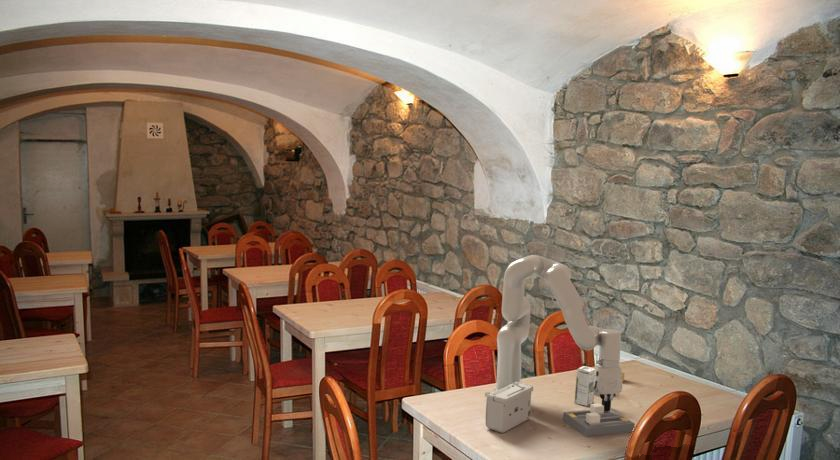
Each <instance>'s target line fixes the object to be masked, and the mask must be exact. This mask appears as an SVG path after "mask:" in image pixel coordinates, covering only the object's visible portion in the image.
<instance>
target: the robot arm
mask: <svg viewBox="0 0 840 460" xmlns="http://www.w3.org/2000/svg"><path fill="white" fill-rule="evenodd" d="M503 275H504V277H503V285H502V286H503V288H502V296H501V297H502V299H501V316H502V317H503V319H504V320H505V321H507V323H506V324H505V325H504V326H502V327H501V328H500V329H499V330H498V332H497V335H496V344H497V367H496V368H497V369H496V370H497V371H496V387H495V388H494V389H493V390H492V391H487V392H486V391H485V392H484V397H485V398H487V395H488V394H490V393H493V392H495V391H497V390H500V389H502V388H504V387H506V386H508V385H511V384H513V383H515V382H520V383H521V378H522V377H521V376H522V374H521V373H522V343H524V342H525V341H526V340H527V338H528V337H529V334H530V326H531V325H530V323H531V313H532V312H531V302H530V300H529V299H528V298H527V297H526V296H525V290H526V287H525V285H526V284H525V282H526V280H527V279H528V280H529V279H532V278H534V277H537V278H539V279H543V280H545V282H546V284H547V287H548V288H549V290H550V292H551V293H552V295H553V297H554V298H555V300H556V302H557V304H558V305H559V307H560V310H561V313H562V316H563V318H564V319H563V320H564V321H565V325H566V327H567V329H568V331H569V333H570V335H571V337H572V338H573V341H575V344H576V345H577V346H578V347H579V348H580V349H582V350H584V351H591V350H593V349H595V348H596V347H597V346H599V351H598V352H599V353H598V354H599V355H598V360H596V367H595V369H596V372H595V377H594V397H599V398H600V399H601V405H603V406H604V410H605V411H610V409H611V407H612V401H613V400H614V398H615V396H617V395H620V393H622V392H623V381H622V372H623V371H622V367H621V366H620V360H621V359H620V358H621V345H622V343H621V342H622V334H621V332H620V331H618V330H616V329H611V328H610V329H609V328H608V329H605V328H603V327H599V326H594V325H588V323H587V320H586V318H585V316H584V312H583V301H582V297H581V295H580V294H579V292H578V291H577V289H576V287H575V286H574V284H573V282H572V281H571V279H572V271H571V270H570V268H569V266H568V265H566V264H563V263H561V262H559V261H556V260H552V259H550V258H546V257H544V256H541V255H537V254H530V255H527V256H524V257H521V258H519V259H516V260H514V261H513V262H511V263H510V264H509V265H508V266H507V267H506V270H505V271H504V274H503ZM505 378H506V379H507V380H509V381H511V382H513V383H511V382H509V381H507V380H505Z"/></svg>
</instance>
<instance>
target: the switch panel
mask: <svg viewBox="0 0 840 460" xmlns="http://www.w3.org/2000/svg"><path fill="white" fill-rule="evenodd" d="M586 413H591V412H590V409H584V410H583V409H582V410H572V411H571V410H570V411H563V413H562V421H564V422H566V423H567V424H568V425H569V426H571V427H572V428H573V429H575V430H576V431H578V432H579V433H581V434H582V435H583V436H585V437H587V438H588V437H597V436H606V435H613V434H614V435H615V434H623V433H633V432H632V430H633V428H634V429H635V422H633V421H631V420H630V419H628V418H627V417H625V416H623V415H621V414H620V413H618V412H617V411H615V410H614V409H611V408H610V411H605V410H604V413H600V414H599V415H600V423H594V424H589V423H587V422H586Z"/></svg>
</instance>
